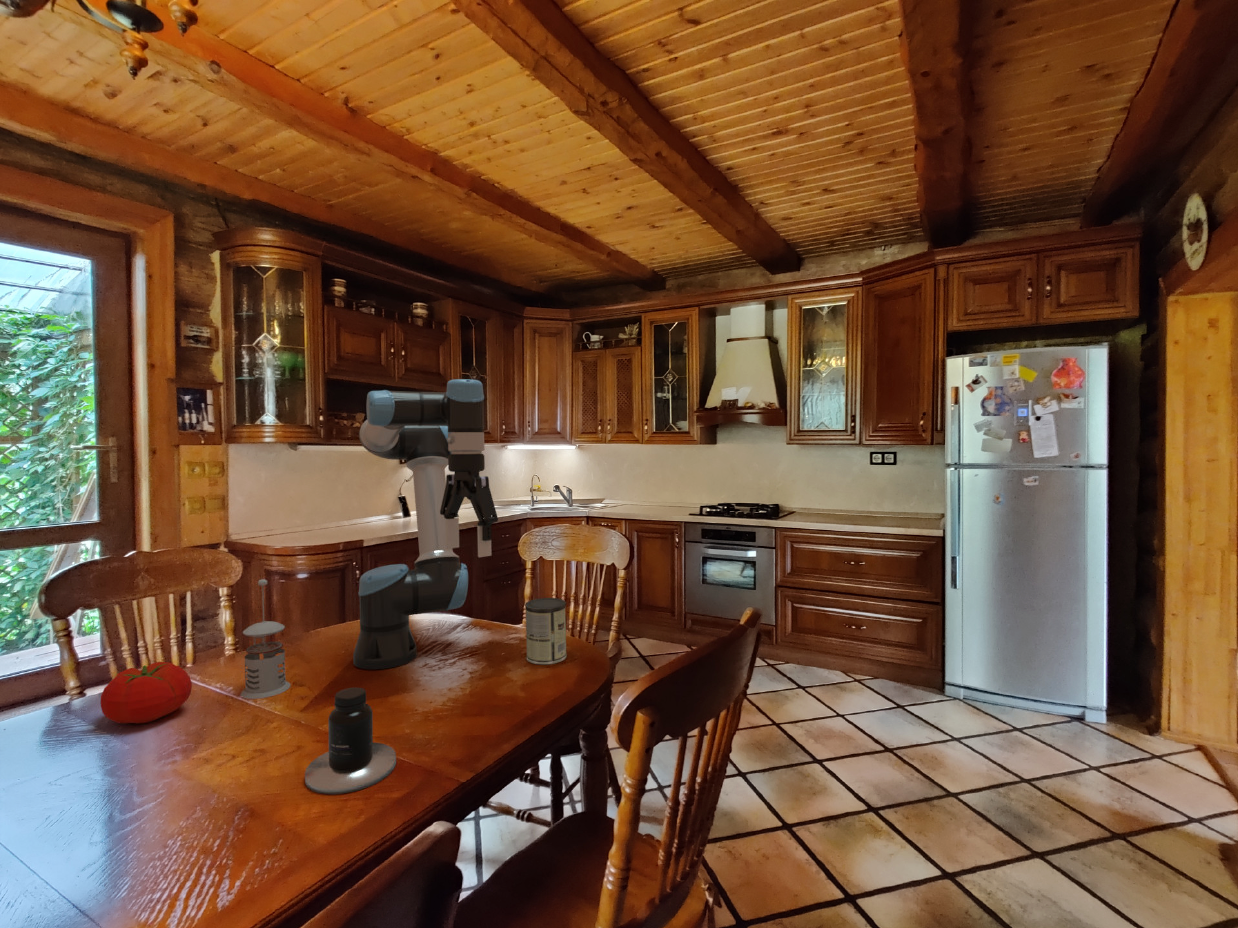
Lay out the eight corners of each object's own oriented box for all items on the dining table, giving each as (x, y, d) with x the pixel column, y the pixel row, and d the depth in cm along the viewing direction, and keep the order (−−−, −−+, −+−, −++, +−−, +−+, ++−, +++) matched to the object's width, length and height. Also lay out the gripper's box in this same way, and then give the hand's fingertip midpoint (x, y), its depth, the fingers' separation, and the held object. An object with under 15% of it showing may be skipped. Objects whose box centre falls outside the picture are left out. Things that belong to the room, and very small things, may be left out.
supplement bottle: (329, 777, 97) (327, 704, 97) (328, 758, 103) (326, 689, 103) (375, 766, 100) (373, 695, 100) (371, 748, 106) (369, 681, 106)
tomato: (173, 694, 133) (171, 650, 133) (204, 713, 124) (202, 665, 123) (89, 719, 121) (86, 671, 121) (116, 742, 112) (113, 690, 111)
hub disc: (294, 769, 102) (294, 762, 102) (377, 740, 111) (377, 734, 111) (320, 805, 92) (320, 797, 92) (409, 770, 101) (409, 763, 101)
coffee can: (531, 649, 159) (530, 597, 159) (569, 650, 158) (569, 597, 158) (521, 664, 149) (520, 608, 149) (562, 665, 148) (561, 608, 147)
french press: (244, 702, 128) (240, 586, 127) (235, 686, 137) (231, 577, 136) (295, 689, 135) (292, 579, 134) (283, 675, 144) (280, 571, 143)
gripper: (423, 452, 135) (425, 546, 135) (481, 453, 116) (483, 562, 117) (454, 451, 140) (455, 542, 141) (513, 453, 121) (515, 557, 122)
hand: (468, 552), depth 129 cm, fingers open, 13 cm apart
